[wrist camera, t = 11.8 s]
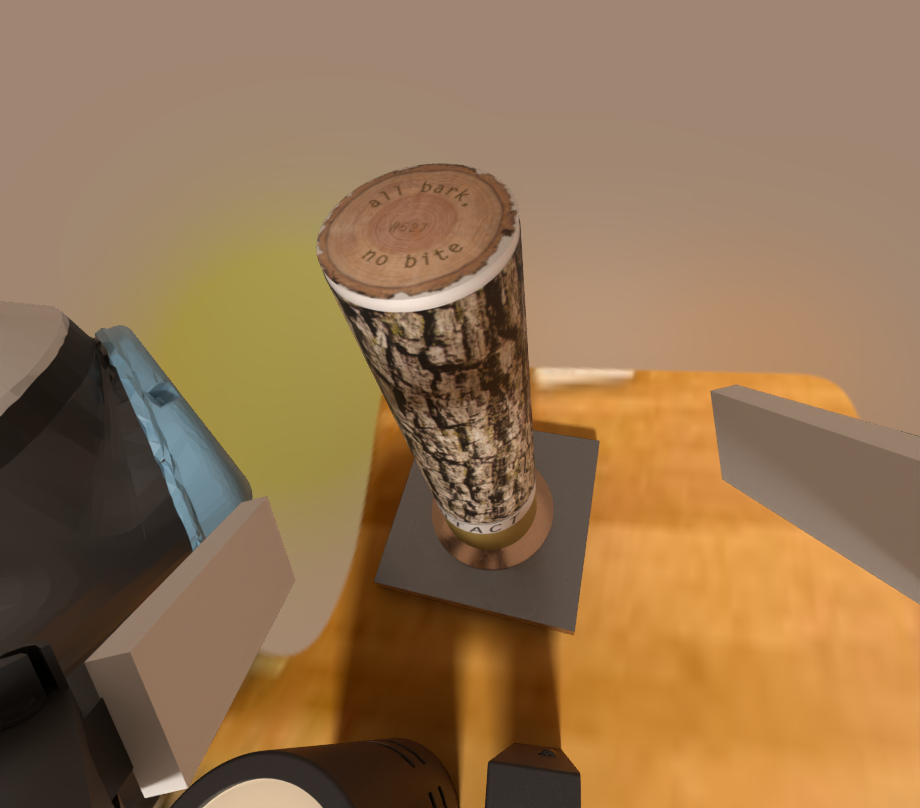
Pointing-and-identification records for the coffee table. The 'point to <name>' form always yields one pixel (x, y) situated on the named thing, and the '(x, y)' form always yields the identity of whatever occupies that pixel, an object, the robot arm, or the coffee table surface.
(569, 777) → the light fixture
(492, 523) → the paper tube
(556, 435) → the plate
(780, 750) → the coffee table surface
